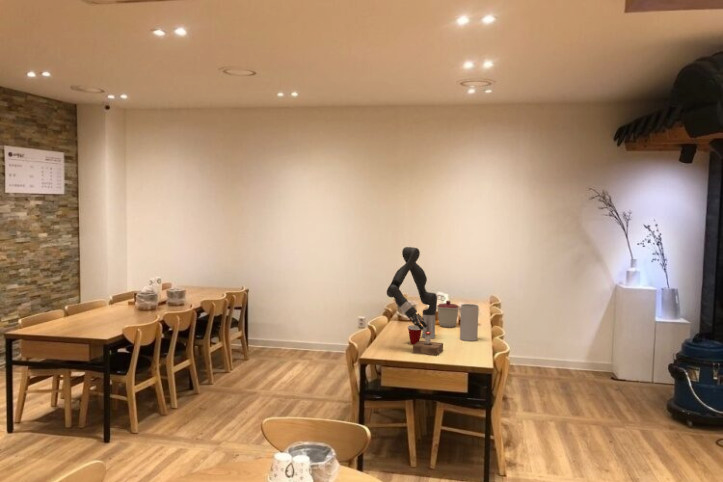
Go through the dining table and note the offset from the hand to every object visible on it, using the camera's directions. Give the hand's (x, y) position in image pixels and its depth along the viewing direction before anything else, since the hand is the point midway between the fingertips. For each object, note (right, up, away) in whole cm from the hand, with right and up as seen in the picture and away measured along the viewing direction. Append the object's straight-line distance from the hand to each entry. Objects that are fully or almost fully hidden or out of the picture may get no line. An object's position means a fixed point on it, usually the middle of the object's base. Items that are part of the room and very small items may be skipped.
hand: (424, 328), depth 379 cm
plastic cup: (-5, -14, +22) cm, 27 cm away
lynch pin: (+2, -16, 0) cm, 16 cm away
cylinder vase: (+36, -14, +39) cm, 56 cm away
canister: (+28, -12, +86) cm, 91 cm away
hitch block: (+2, -16, 0) cm, 16 cm away
